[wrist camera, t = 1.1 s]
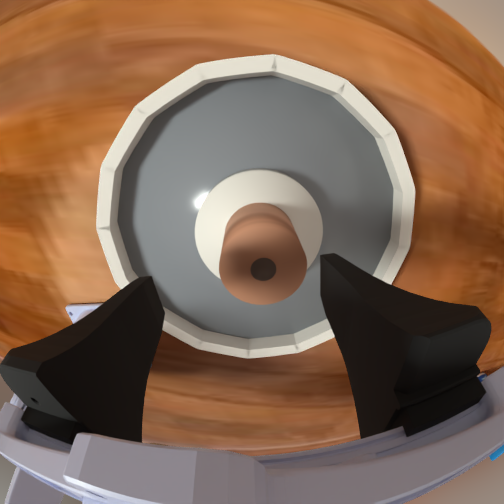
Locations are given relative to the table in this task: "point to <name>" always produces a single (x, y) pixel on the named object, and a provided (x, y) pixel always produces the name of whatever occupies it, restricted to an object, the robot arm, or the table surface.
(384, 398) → the robot arm
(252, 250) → the bead
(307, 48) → the table surface
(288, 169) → the groove tray
